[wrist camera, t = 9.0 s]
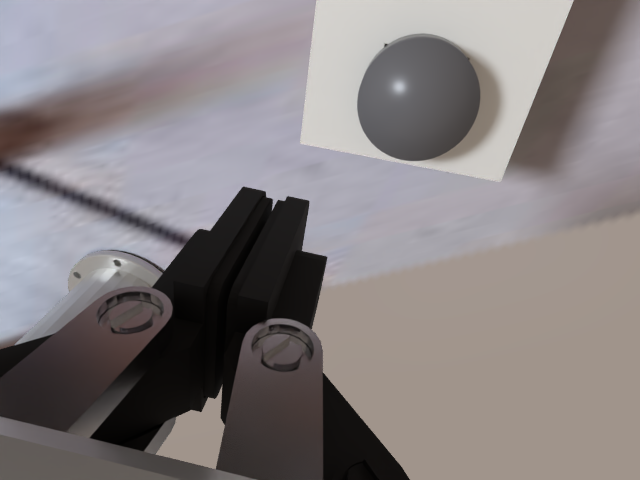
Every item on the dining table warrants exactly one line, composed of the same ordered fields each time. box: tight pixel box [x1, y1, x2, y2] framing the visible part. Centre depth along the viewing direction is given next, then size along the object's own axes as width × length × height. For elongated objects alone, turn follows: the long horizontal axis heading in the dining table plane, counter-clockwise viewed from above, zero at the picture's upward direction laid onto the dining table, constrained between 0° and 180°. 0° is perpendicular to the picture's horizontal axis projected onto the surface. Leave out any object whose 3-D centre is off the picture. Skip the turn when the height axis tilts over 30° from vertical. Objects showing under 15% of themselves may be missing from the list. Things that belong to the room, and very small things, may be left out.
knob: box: [357, 33, 480, 161], centre depth 25 cm, size 6×6×8 cm
